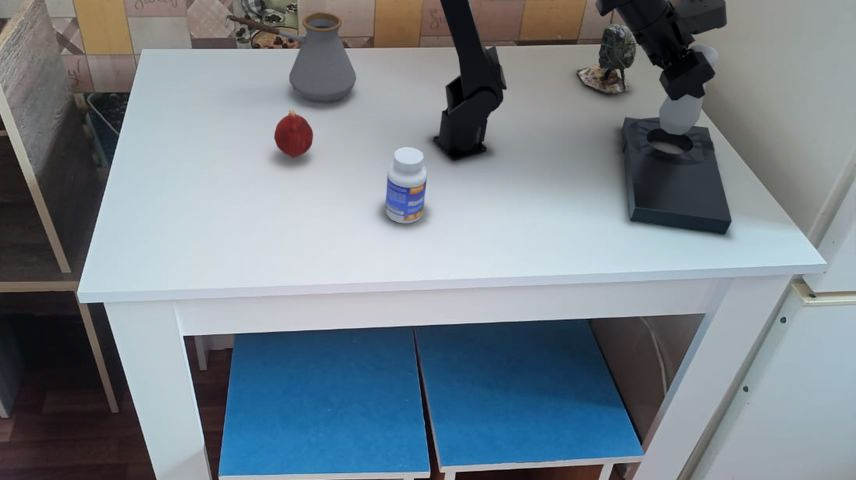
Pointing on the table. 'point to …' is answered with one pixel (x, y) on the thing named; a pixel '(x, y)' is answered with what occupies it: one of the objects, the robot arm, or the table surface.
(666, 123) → the white rounded peg
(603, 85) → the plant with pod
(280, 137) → the onion
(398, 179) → the pill bottle
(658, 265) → the table surface
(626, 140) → the plate
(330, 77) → the coffee pot
